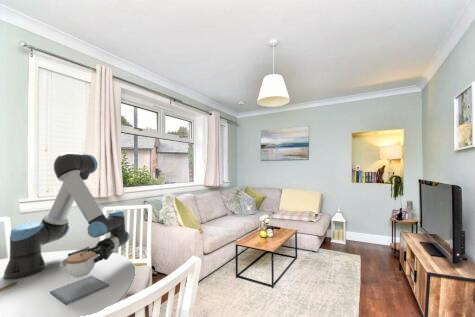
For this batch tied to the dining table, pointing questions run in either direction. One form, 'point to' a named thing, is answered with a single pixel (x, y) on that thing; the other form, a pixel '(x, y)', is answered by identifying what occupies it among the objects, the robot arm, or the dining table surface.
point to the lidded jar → (79, 264)
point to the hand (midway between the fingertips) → (74, 264)
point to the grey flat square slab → (78, 289)
